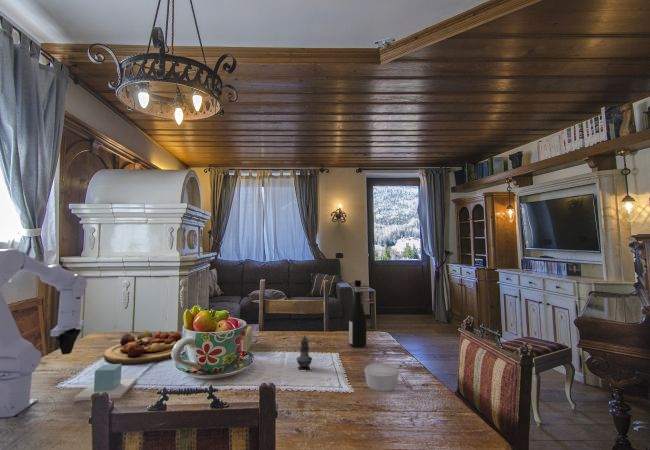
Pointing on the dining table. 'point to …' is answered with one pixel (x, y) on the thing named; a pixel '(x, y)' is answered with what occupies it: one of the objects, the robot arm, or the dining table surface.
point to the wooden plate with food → (142, 348)
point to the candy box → (248, 339)
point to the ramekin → (381, 377)
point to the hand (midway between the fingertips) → (66, 353)
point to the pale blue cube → (107, 377)
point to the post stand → (115, 393)
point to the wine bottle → (357, 320)
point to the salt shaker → (304, 355)
